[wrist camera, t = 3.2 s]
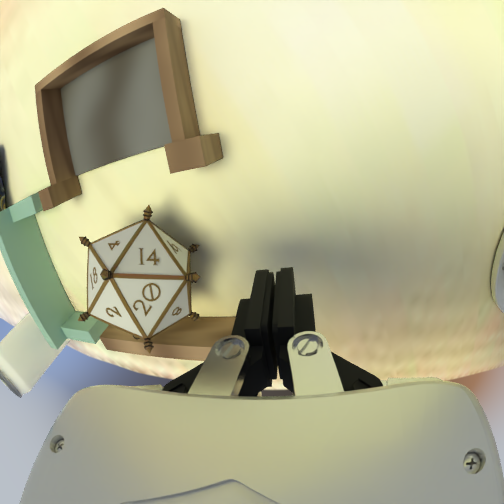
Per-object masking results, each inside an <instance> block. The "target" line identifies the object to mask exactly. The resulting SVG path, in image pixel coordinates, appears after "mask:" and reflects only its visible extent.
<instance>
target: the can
mask: <svg viewBox="0 0 504 504" xmlns="http://www.w3.org/2000/svg"><path fill="white" fill-rule="evenodd" d="M69 341H70V339H69V338H67V339H66V340H65V342H64V343H63V344H62V345H61V346H60V348H59V349H58V350H57V349H54V348H51V347H50V345H49V344H48V342H47V341H46V339H45V338H44V336H43V335H42V333H41V331H40V330H39V328H38V326H37V325H36V323H35V321H34V320H33V318H32V316H31V314H30V313H28V314H27V315H26V316H25V317H24V318H23V319H22V320H21V321H20V322H19V323H18V324H17V325H16V326H15V327H14V328H13V329H12V330H11V331H10V332H9V333H8V335H6V337H5V338H4V339H3V340H2V341H1V342H0V379H1V380H2V381H3V383H4V384H5V385H6V386H7V387H8V388H9V389H10V390H11V391H12V392H13V393H15V394H16V395H17V396H19V397H20V398H21V397H22V395H23V394H25V393H28V392H29V391H31V389H32V388H33V387H34V385H35V384H36V383H37V381H38V380H39V379H40V378H41V376H42V375H43V374H44V372H45V371H46V369H47V368H48V367H49V365H51V363H52V362H53V361H54V359H55V358H56V357H57V356H58V354H59V353H60V352H61V351H62V349H63V348H64V347H65V346H66V344H67V343H68V342H69Z"/></svg>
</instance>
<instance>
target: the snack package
mask: <svg viewBox="0 0 504 504" xmlns="http://www.w3.org/2000/svg"><path fill="white" fill-rule="evenodd" d="M3 210H5V191H4V186H3V183H2V179H1V177H0V212H1V211H3Z"/></svg>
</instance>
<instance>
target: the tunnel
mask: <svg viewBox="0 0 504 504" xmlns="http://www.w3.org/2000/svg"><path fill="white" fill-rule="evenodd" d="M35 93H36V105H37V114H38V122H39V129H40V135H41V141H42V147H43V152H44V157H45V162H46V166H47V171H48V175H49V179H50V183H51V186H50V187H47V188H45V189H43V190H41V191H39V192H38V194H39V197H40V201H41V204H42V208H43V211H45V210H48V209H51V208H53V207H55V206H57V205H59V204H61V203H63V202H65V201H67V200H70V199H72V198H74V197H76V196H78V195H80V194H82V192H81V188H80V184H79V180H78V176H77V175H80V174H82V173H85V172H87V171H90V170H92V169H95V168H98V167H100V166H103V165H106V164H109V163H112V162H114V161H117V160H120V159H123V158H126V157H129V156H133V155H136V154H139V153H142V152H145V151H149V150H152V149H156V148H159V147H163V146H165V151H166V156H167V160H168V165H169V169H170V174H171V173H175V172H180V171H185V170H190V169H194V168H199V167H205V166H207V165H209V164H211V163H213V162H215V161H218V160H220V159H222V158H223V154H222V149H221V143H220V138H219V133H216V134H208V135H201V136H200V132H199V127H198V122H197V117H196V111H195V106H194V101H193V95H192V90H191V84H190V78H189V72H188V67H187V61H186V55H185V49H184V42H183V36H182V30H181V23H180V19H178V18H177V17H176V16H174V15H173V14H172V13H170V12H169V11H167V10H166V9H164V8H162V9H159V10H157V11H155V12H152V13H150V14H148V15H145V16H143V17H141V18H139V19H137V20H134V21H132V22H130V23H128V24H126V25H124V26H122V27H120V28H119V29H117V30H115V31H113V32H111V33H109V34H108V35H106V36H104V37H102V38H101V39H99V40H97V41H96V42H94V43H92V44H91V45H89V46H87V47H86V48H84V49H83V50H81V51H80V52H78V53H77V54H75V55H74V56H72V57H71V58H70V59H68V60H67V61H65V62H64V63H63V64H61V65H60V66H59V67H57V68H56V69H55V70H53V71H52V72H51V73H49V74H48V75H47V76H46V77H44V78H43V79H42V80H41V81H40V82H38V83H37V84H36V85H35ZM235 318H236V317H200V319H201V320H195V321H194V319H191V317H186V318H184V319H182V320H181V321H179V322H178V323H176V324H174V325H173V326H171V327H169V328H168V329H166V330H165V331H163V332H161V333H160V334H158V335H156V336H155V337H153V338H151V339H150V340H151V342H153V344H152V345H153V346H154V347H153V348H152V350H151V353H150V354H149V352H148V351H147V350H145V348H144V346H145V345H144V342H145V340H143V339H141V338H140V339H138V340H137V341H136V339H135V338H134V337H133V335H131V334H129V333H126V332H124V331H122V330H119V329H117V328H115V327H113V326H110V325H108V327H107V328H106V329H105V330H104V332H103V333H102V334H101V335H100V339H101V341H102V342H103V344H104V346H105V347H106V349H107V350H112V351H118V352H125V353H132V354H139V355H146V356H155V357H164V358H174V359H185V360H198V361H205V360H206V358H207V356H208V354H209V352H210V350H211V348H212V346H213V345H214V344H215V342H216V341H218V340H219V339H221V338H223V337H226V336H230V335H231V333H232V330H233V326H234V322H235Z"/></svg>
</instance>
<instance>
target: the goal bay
mask: <svg viewBox="0 0 504 504" xmlns="http://www.w3.org/2000/svg"><path fill="white" fill-rule="evenodd" d="M42 210H43V208H42V204H41V201H40V197H39V194H38V193H36V194H33V195H31V196H29V197H27V198H25V199H23V200H21V201H19V202H18V203H16V204H14V205H12V206H10V207H8V208H7V209H5V210H3V211H1V212H0V250H1V253H2V256H3V258H4V261H5V263H6V265H7V268H8V270H9V272H10V275H11V277H12V279H13V281H14V283H15V285H16V288H17V290H18V292H19V294H20V296H21V298H22V300H23V301H24V303H25V305H26V307H27V309H28V311H29V313H30V314H31V316H32V318H33V320H34V321H35V323H36V325H37V326H38V328H39V330H40V331H41V333H42V335H43V336H44V338H45V339H46V341H47V342H48V344H49V345H50V347H51V348H54V349H57V350H58V349H59V348H60V346H61V345H62V344H63V343H64V342H65V340H66V339H67V338H69V339H73V340H78V341H83V342H88V343H94V344H96V343H97V341H98V340H99V339H100V335H101V334H102V333H103V332H104V330H105V329H106V328H107V327H108V324H106V323H104V322H102V321H99V320H97V319H95V318H93V317H91V316H89V317H88V320H85V322H84V321H78V319H79V317H80V314H83V312H77V311H75V310H74V308H73V306H72V304H71V303H70V301H69V299H68V297H67V295H66V292H65V290H64V288H63V286H62V284H61V282H60V280H59V278H58V275H57V273H56V271H55V269H54V266H53V264H52V261H51V259H50V257H49V254H48V252H47V249H46V246H45V244H44V241H43V238H42V236H41V233H40V230H39V227H38V224H37V221H36V218H35V215H34V214H36V213H38V212H40V211H42ZM84 313H85V312H84Z"/></svg>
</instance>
